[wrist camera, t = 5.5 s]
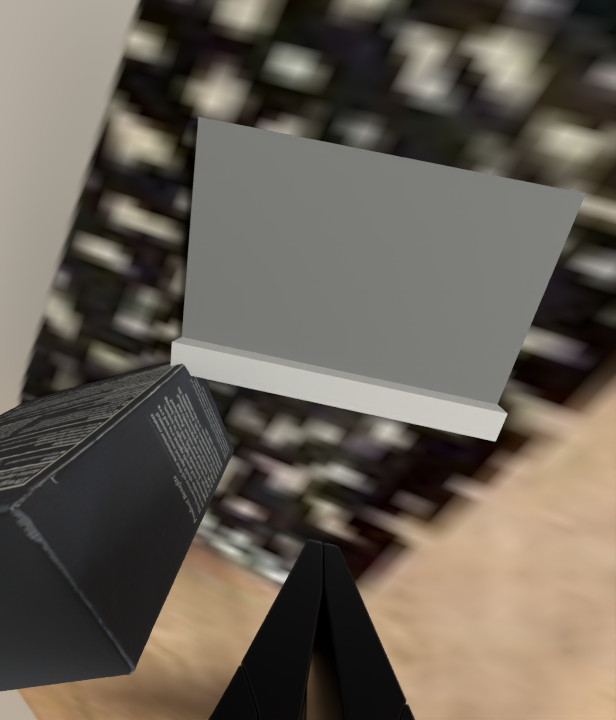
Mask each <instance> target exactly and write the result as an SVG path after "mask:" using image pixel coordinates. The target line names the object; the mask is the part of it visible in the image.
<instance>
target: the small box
mask: <svg viewBox="0 0 616 720" xmlns="http://www.w3.org/2000/svg"><path fill="white" fill-rule="evenodd" d="M170 365H171V361H170V362H166V363H163V364H159V365H156V366H152V367H148V368H145V369H141V370H137V371H132V372H130V373H126V374H122V375H118V376H115V377H112V378H108V379H104V380H100V381H97V382H93V383H87V384H84V385H81V386H77V387H75V388H70V389H67V390H63V391H60V392H56V393H53V394H50V395H46V396H43V397H39V398H36V399H32V400H27V401H25V402H24V403H22V404H20V405H18V406H17V407H15V408H13V409H11V410H9V411H7V412H5V413H3V414H2V415H0V691H6V690H14V689H21V688H28V687H36V686H44V685H51V684H59V683H66V682H74V681H81V680H88V679H96V678H104V677H112V676H120V675H129V674H131V673H133V672H134V670H135V668H136V666H137V663H138V661H139V658H140V656H141V654H142V652H143V649H144V647H145V645H146V643H147V641H148V638H149V636H150V634H151V631H152V629H153V627H154V624H155V622H156V620H157V618H158V616H159V614H160V611H161V609H162V607H163V605H164V603H165V600H166V598H167V596H168V594H169V592H170V589H171V587H172V585H173V583H174V580H175V578H176V576H177V573H178V571H179V569H180V567H181V565H182V562H183V560H184V558H185V556H186V554H187V552H188V549H189V547H190V545H191V543H192V540H193V538H194V536H195V534H196V532H197V530H198V528H199V525H200V523H201V521H202V519H203V517H204V515H205V512H206V510H207V508H208V506H209V504H210V501H211V499H212V497H213V495H214V493H215V490H216V488H217V486H218V484H219V482H220V480H221V478H222V475H223V473H224V471H225V469H226V467H227V464H228V462H229V460H230V458H231V456H232V454H233V452H234V450H233V447H232V444H231V441H230V439H229V436H228V434H227V431H226V429H225V427H224V424H223V422H222V419H221V417H220V414H219V412H218V409H217V407H216V404H215V402H214V400H213V397H212V395H211V393H210V390H209V388H208V385H207V383H206V380H205V379H204V378H200V377H195V376H191V375H190V373H189V371H188V370H187V368H186V367H185V365H184V364H179V365H174V366H170Z"/></svg>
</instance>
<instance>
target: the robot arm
mask: <svg viewBox="0 0 616 720" xmlns="http://www.w3.org/2000/svg"><path fill="white" fill-rule="evenodd" d="M405 704H406V698H405V696H404V694H403V691H402V689H401V687H400V685H399V682H398V680H397V678H396V675H395V673H394V671H393V669H392V666H391V664H390V662H389V659H388V657H387V655H386V653H385V650H384V648H383V646H382V643H381V641H380V639H379V637H378V634H377V632H376V630H375V628H374V625H373V623H372V621H371V618H370V616H369V614H368V612H367V609H366V607H365V605H364V602H363V600H362V598H361V596H360V593H359V591H358V589H357V586H356V584H355V582H354V580H353V577H352V575H351V573H350V570H349V568H348V566H347V564H346V561H345V559H344V557H343V554H342V552H341V550H340V548H339V547H338V546H336V545H332V544H327V543H325V544H322V542H319V541H314V540H308V541H307V542H306V544H305V546H304V548H303V550H302V551H301V553H300V555H299V557H298V559H297V561H296V562H295V564H294V566H293V568H292V570H291V572H290V574H289V575H288V577H287V579H286V581H285V583H284V585H283V586H282V588H281V590H280V592H279V594H278V596H277V598H276V599H275V601H274V603H273V605H272V607H271V609H270V610H269V612H268V614H267V616H266V618H265V620H264V622H263V623H262V625H261V627H260V629H259V631H258V633H257V634H256V636H255V638H254V640H253V642H252V644H251V646H250V647H249V649H248V651H247V653H246V655H245V657H244V658H243V660H242V662H241V666H239V667H238V669H237V671H236V673H235V675H234V676H233V678H232V680H231V682H230V684H229V686H228V687H227V689H226V691H225V692H224V694H223V696H222V698H221V699H220V701H219V703H218V705H217V706H216V708H215V710H214V711H213V713H212V715H211V716H210V718H209V719H208V720H415V719H414V716H413V714H412V712H411V709H410V707H409V705H407V704H406V705H405Z"/></svg>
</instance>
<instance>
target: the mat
mask: <svg viewBox="0 0 616 720" xmlns="http://www.w3.org/2000/svg"><path fill="white" fill-rule="evenodd" d="M584 196H585V194H584V193H579V192H574V191H569V190H564V189H559V188H554V187H549V186H544V185H539V184H534V183H529V182H524V181H519V180H514V179H509V178H504V177H499V176H494V175H489V174H484V173H479V172H474V171H469V170H464V169H459V168H454V167H449V166H444V165H439V164H433V163H428V162H423V161H418V160H413V159H408V158H403V157H398V156H393V155H388V154H383V153H378V152H373V151H368V150H363V149H358V148H353V147H348V146H343V145H338V144H333V143H328V142H323V141H318V140H313V139H308V138H303V137H298V136H293V135H288V134H282V133H277V132H272V131H267V130H262V129H257V128H252V127H247V126H242V125H237V124H232V123H227V122H222V121H217V120H212V119H207V118H202V117H198V129H197V142H196V155H195V168H194V182H193V195H192V208H191V221H190V234H189V248H188V261H187V274H186V287H185V300H184V314H183V327H182V337H181V338H179V339H177V340H175V341H173V342H172V350H171V365H170V366H174V365H179V364H184V365H185V367H186V368H187V370H188V371H189V373H190V375H191V376H195V377H200V378H204V379H209V380H214V381H218V382H223V383H228V384H232V385H237V386H241V387H246V388H251V389H255V390H260V391H265V392H269V393H274V394H278V395H283V396H288V397H292V398H297V399H302V400H306V401H311V402H315V403H320V404H325V405H329V406H334V407H338V408H343V409H348V410H352V411H357V412H362V413H366V414H371V415H375V416H380V417H385V418H389V419H394V420H399V421H403V422H408V423H412V424H417V425H422V426H426V427H431V428H435V429H440V430H445V431H449V432H454V433H459V434H463V435H468V436H472V437H477V438H482V439H486V440H491V441H496V439H497V437H498V435H499V432H500V430H501V428H502V425H503V423H504V421H505V418H506V416H507V413H506V412H505V411H504V410H503V409H502V408H501V407H499V406H498V405H497V404H498V401H499V399H500V397H501V394H502V392H503V390H504V387H505V385H506V382H507V380H508V378H509V375H510V373H511V370H512V368H513V366H514V363H515V361H516V359H517V356H518V354H519V351H520V349H521V347H522V344H523V342H524V339H525V337H526V335H527V332H528V330H529V327H530V325H531V323H532V320H533V318H534V316H535V313H536V311H537V308H538V306H539V304H540V301H541V299H542V296H543V294H544V292H545V289H546V287H547V285H548V282H549V280H550V277H551V275H552V273H553V270H554V268H555V265H556V263H557V261H558V258H559V256H560V253H561V251H562V249H563V246H564V244H565V242H566V239H567V237H568V234H569V232H570V230H571V227H572V225H573V222H574V220H575V218H576V215H577V213H578V211H579V208H580V206H581V203H582V201H583V199H584Z"/></svg>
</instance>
